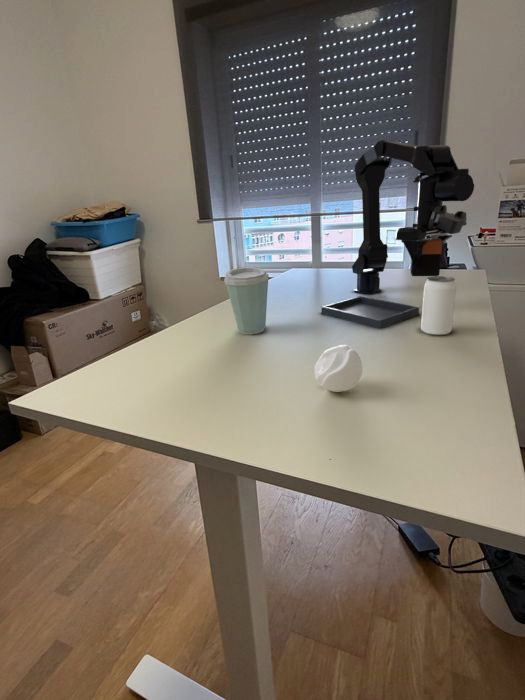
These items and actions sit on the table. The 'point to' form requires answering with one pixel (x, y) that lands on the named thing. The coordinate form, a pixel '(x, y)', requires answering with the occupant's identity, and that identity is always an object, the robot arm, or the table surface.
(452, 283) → the can
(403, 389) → the table surface
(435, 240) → the battery
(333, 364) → the white ball
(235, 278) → the disposable coffee cup
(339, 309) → the tray
